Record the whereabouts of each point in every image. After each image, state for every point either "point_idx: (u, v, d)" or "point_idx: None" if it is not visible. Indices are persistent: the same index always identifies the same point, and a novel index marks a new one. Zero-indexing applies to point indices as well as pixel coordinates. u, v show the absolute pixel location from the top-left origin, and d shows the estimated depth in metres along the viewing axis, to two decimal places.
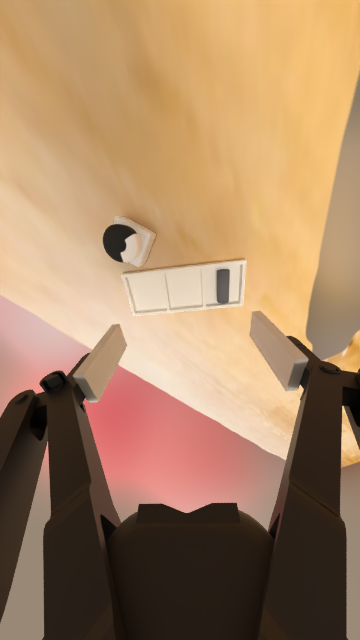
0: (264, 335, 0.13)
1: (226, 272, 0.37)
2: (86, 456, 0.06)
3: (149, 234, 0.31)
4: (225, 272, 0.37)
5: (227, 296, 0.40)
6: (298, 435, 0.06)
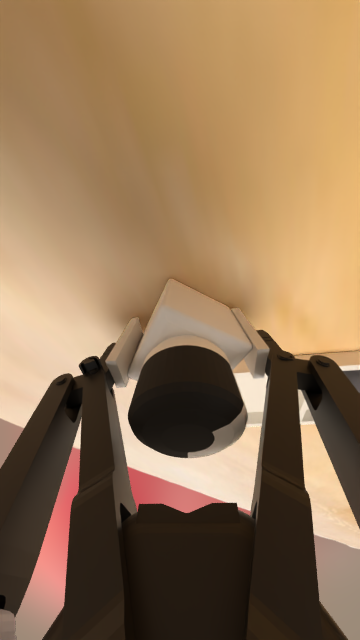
0: None
1: None
2: (112, 442, 0.07)
3: (249, 348, 0.11)
4: None
5: None
6: (266, 422, 0.07)
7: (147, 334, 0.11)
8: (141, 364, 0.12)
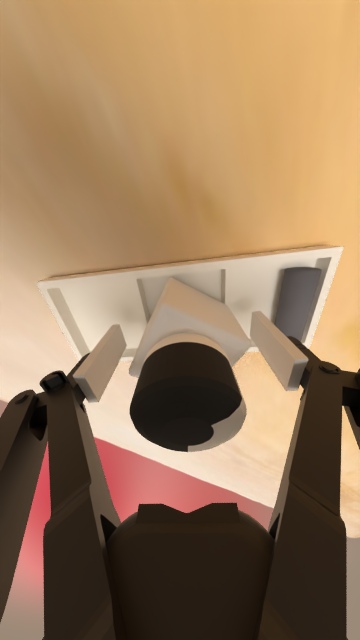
0: (264, 335, 0.13)
1: None
2: (86, 456, 0.06)
3: (248, 345, 0.11)
4: None
5: None
6: (298, 435, 0.06)
7: (148, 331, 0.11)
8: (142, 361, 0.12)
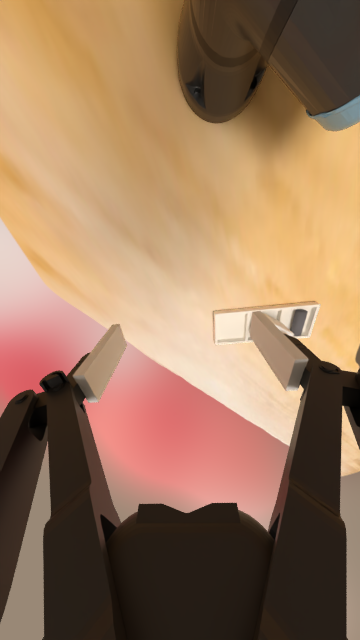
0: (264, 335, 0.13)
1: None
2: (86, 456, 0.06)
3: (293, 334, 0.43)
4: (306, 313, 0.46)
5: None
6: (298, 435, 0.06)
7: None
8: None
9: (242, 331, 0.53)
